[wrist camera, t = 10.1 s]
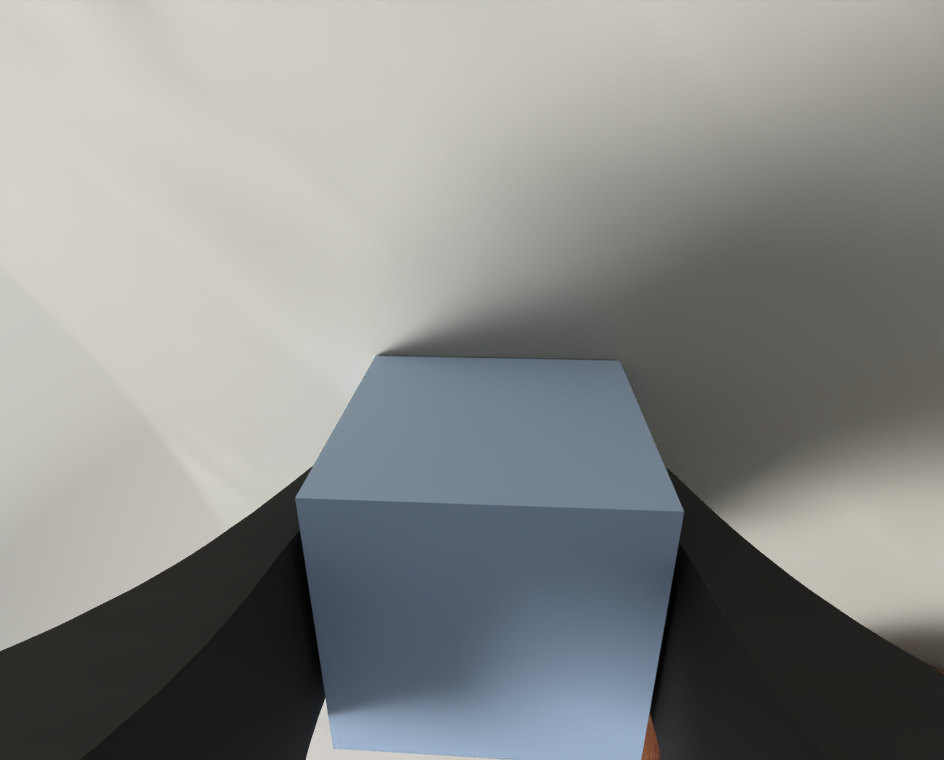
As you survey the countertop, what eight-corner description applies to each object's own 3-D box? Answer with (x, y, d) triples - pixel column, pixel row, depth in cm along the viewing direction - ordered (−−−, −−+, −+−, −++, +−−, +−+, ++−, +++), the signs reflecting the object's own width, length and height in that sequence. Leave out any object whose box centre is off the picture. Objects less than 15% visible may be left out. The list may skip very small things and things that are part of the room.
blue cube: (598, 555, 13) (640, 767, 9) (390, 547, 13) (333, 748, 9) (619, 360, 11) (684, 511, 7) (375, 355, 11) (295, 497, 7)
